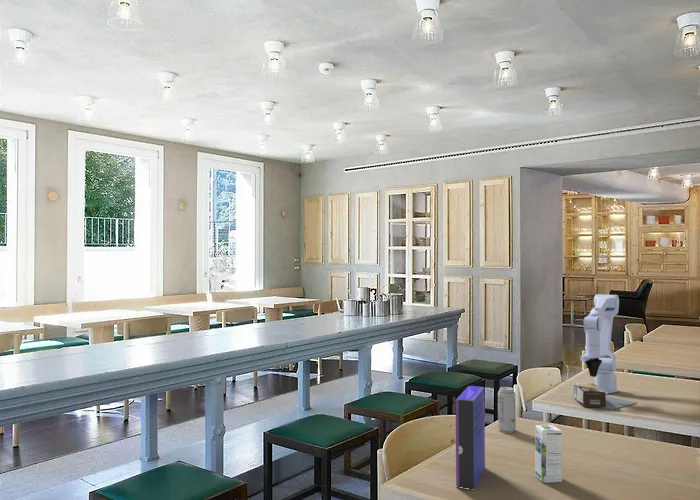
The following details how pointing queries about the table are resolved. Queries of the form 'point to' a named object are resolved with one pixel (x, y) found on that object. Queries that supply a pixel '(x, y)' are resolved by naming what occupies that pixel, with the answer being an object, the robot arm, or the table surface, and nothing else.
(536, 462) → the syrup box
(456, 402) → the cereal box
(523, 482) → the table surface
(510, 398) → the energy drink can
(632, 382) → the table surface
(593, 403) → the coffee box
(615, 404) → the mat
